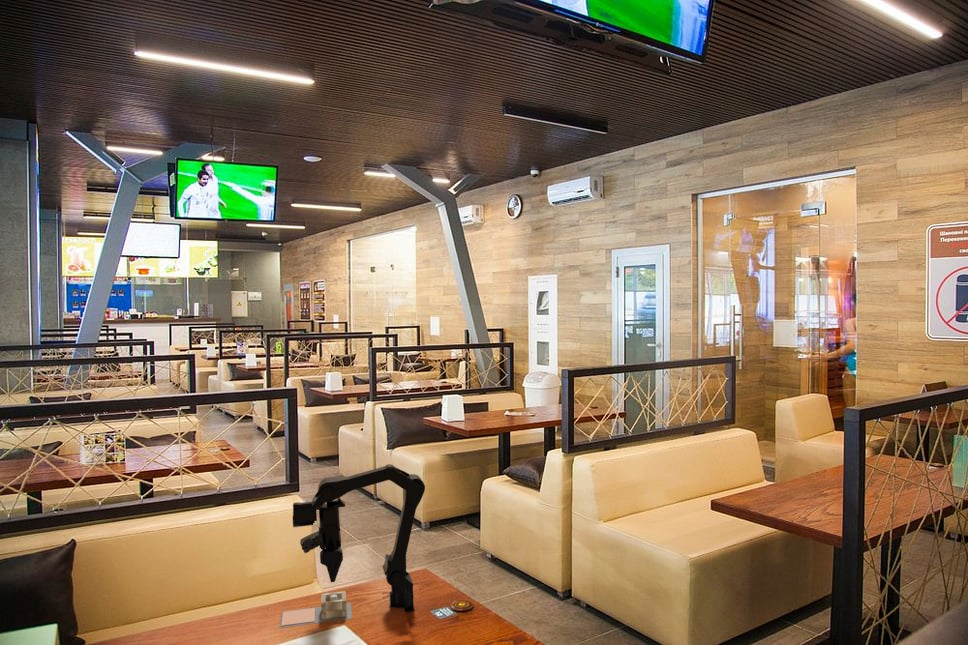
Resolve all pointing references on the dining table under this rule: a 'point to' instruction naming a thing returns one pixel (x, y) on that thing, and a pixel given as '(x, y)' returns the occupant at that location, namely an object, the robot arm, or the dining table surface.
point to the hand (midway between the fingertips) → (332, 576)
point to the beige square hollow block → (333, 605)
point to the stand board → (309, 616)
